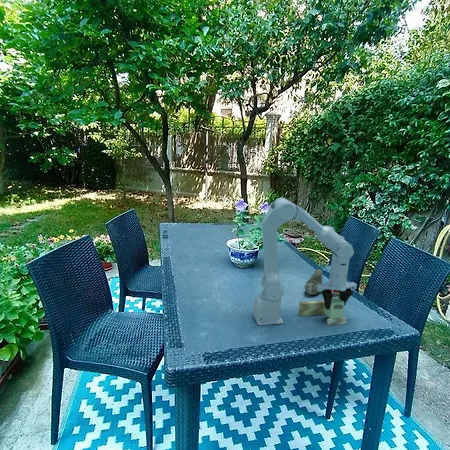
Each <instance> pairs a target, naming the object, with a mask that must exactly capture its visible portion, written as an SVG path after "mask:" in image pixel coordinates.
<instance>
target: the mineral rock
mask: <svg viewBox="0 0 450 450" xmlns="http://www.w3.org/2000/svg"><path fill="white" fill-rule="evenodd" d="M317 284H323V270H321V269H320V268H318V269H315V270H314V271H313V274H312V275H311V276H310V278H309V279H308V280H307V281H306V283H305V285H304V289H305V291H306V293H307V295H309V296H313V295H314V296H315V295H317V294H319V293H320V292H319V291H318V290H317Z"/></svg>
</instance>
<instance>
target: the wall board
mask: <svg viewBox="0 0 450 450" xmlns="http://www.w3.org/2000/svg"><path fill="white" fill-rule="evenodd" d="M297 314H298V316H299V317H307V316H318V315H320V316H321V315H325V314H324V299H322V300H313V301H312V300H311V301H309V300H308V301H299V304H298V313H297ZM346 324H347V317H345V316H343V318H334V319H330V318H329V317H328V318H327V319H326V325H327V326H338V325H346Z"/></svg>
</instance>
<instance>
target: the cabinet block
mask: <svg viewBox="0 0 450 450" xmlns="http://www.w3.org/2000/svg"><path fill="white" fill-rule="evenodd" d="M344 309H345V306H344V301H342V300H341V299H339V298H338V297H332V300H331V305H330V309H329V310H327V309H326V308H325V304H324V314H323V315H325V316H327V317H328V318H330V319H334V318H343V317H344Z"/></svg>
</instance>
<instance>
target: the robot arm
mask: <svg viewBox="0 0 450 450" xmlns="http://www.w3.org/2000/svg"><path fill="white" fill-rule="evenodd" d="M291 220H293V221H296V222H297V221H299V222H302V223H304V224H305V225H306V226H307V227H308V228H309V229H310V230H312V231H314V233H315V237H316V239H317V240H318V241H319V242H320V243H322V244H323V245H324V246H325V247H326V248H328V249H329V250H330V251H331V252H332V256H331V263H330V271H329V280H328V281H327V282H322V284H317V290H318V291H319V293H321V295H322V299H323V300H324V304H325V308H326V309H327V310H329V309H330V305H331V300H332V297H333V294H332V293H331V290H339V299H341V300H342V301H344V307H345V306H346V304H347V302H348V300H349V299H350V297H352V296H353V293H354V292H353V290H357V287H358V284H357V283H355V281H353V282H352V281H351V282H349V281H347V280H348V272H349V266H350V265H349V264H350V259H351V258H352V257H353V256H354V253H355V250H354V248H353V245H352V244H351V243H349V242H348V241H346V240H345V236H342V235H340V234H338V233H337V232H336V231H335V230H336V229H335V228H334V227H333V226H329V225H322V224H321V223H320V222H318V221H317V220H316V219H315V218H314V217H313V216H312V215H311V214H310V213H308V212H307V211H306V210H305V209H303V208H302V207H300V206H298V205H297V204H295V203H293V202H292V201H290V200H288V199H287V198H285V197H279V198H276V199H275V200H274V201H273V202H272V203H270V205H269V208H268V209H267V212H266V214H265V216H264V217H263V219H262V221H261V229H262V230H261V231H262V233H261V234H262V249H263V250H262V251H263V252H262V253H263V266H264V269H263V270H264V271H263V277H262V279H261V286H262V288H263V290H262V291H261V294H260V295H258V296H254V299H253V306H252V307H253V309H252V313H251V314H252V316H253V318H254V320H255V323H257V325H258V326H266V325H280V324H284V320H283V319H282V317H281V305H282V297H283V296H284V288H283V287H282V286H281V279H280V274H279V255H278V254H279V252H278V236H277V235H278V233H277V229H279V228H280V227H281V226H282V225H283V224H285V223H287V222H289V221H291Z"/></svg>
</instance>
